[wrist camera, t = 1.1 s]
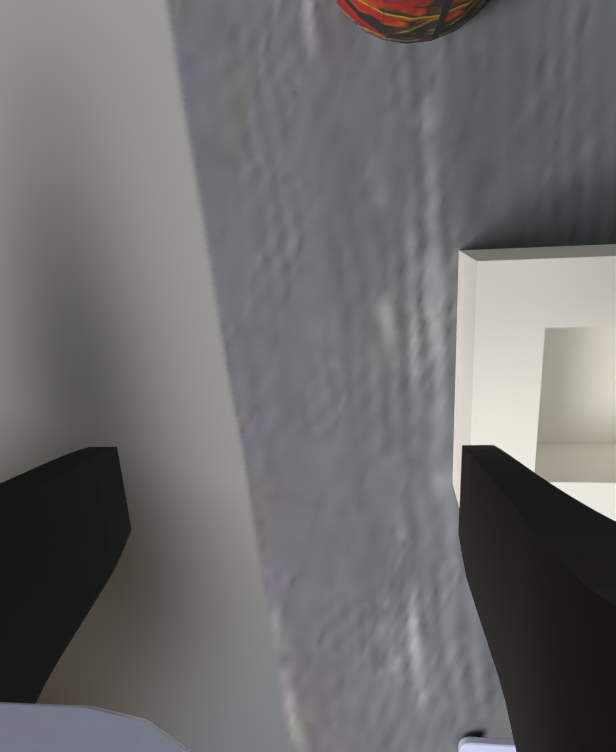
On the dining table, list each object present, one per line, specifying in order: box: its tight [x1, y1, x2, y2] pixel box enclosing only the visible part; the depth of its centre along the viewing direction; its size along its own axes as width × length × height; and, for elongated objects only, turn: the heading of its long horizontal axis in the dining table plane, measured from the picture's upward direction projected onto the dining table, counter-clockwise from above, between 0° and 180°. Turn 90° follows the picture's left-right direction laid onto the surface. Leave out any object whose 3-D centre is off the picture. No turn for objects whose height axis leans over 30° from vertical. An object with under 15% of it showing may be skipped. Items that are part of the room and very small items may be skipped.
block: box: [453, 244, 616, 521], centre depth 19 cm, size 9×9×4 cm
